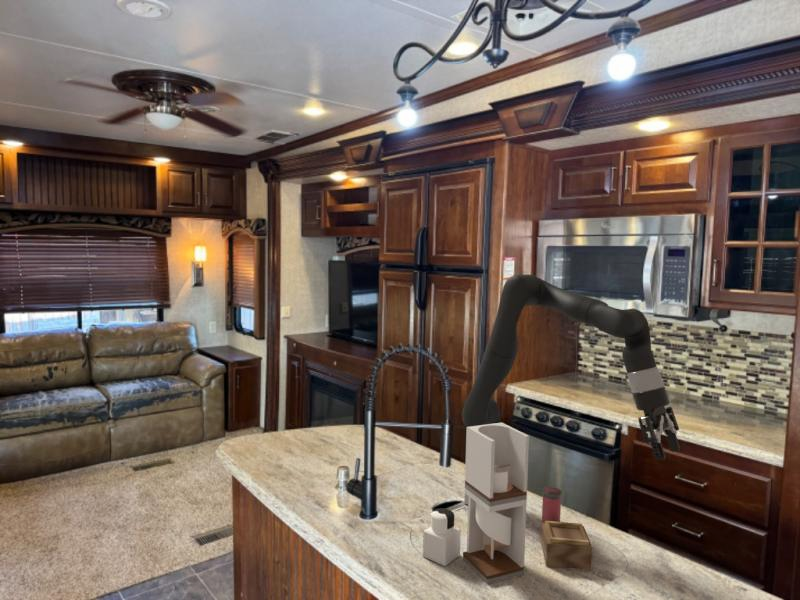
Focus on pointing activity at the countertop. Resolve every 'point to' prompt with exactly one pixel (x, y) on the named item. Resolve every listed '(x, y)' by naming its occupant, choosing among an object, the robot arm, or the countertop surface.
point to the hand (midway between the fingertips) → (668, 455)
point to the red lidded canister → (551, 504)
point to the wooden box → (566, 545)
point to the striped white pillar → (496, 500)
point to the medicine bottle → (442, 538)
